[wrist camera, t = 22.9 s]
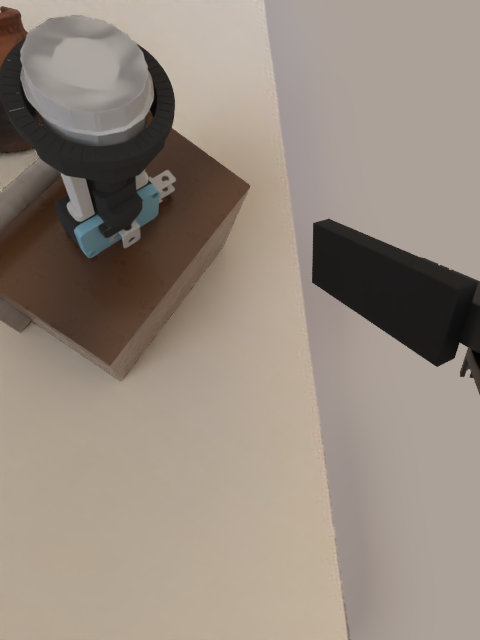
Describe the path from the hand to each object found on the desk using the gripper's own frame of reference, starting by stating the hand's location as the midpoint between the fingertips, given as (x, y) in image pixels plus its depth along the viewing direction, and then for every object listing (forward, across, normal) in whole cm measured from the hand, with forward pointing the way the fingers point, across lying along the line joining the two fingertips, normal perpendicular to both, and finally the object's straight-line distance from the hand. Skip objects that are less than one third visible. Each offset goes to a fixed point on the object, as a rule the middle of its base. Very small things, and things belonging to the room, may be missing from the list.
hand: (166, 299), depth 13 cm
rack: (+16, 0, -6) cm, 17 cm away
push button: (+10, 0, 0) cm, 10 cm away
